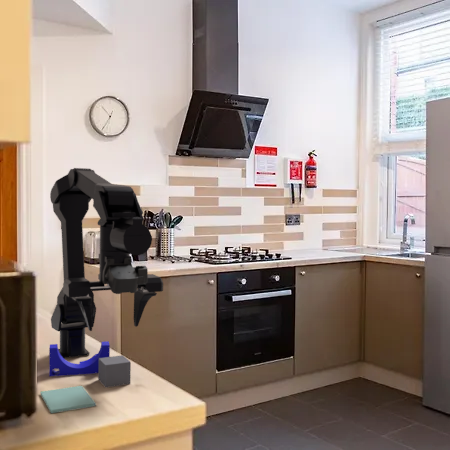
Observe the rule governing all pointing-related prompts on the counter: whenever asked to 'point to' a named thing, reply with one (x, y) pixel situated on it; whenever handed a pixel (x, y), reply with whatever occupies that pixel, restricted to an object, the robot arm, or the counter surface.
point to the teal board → (67, 399)
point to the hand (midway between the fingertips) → (113, 328)
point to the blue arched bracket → (74, 369)
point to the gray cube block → (114, 371)
